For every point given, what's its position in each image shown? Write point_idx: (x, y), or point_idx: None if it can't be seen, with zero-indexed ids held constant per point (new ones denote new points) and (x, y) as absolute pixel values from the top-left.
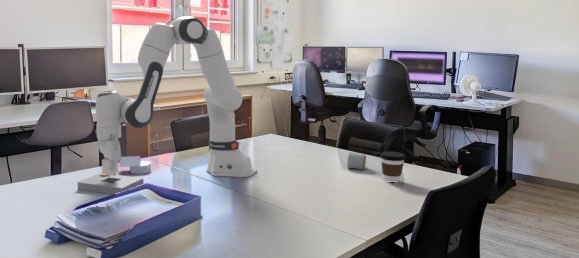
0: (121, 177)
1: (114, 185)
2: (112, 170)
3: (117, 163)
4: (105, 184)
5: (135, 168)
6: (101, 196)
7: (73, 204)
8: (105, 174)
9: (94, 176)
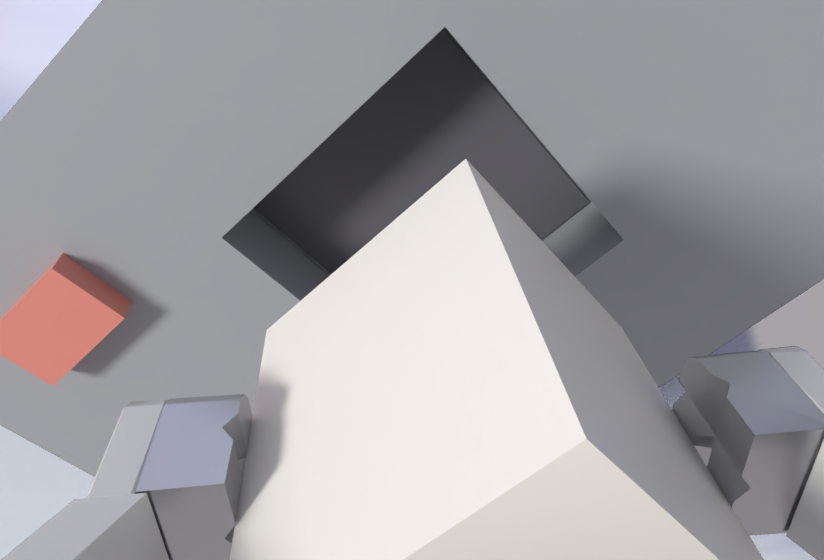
0: (316, 6)
1: (781, 235)
2: (637, 364)
3: (541, 309)
4: (634, 346)
5: None
6: (733, 342)
7: (784, 556)
8: (70, 299)
9: (79, 436)
